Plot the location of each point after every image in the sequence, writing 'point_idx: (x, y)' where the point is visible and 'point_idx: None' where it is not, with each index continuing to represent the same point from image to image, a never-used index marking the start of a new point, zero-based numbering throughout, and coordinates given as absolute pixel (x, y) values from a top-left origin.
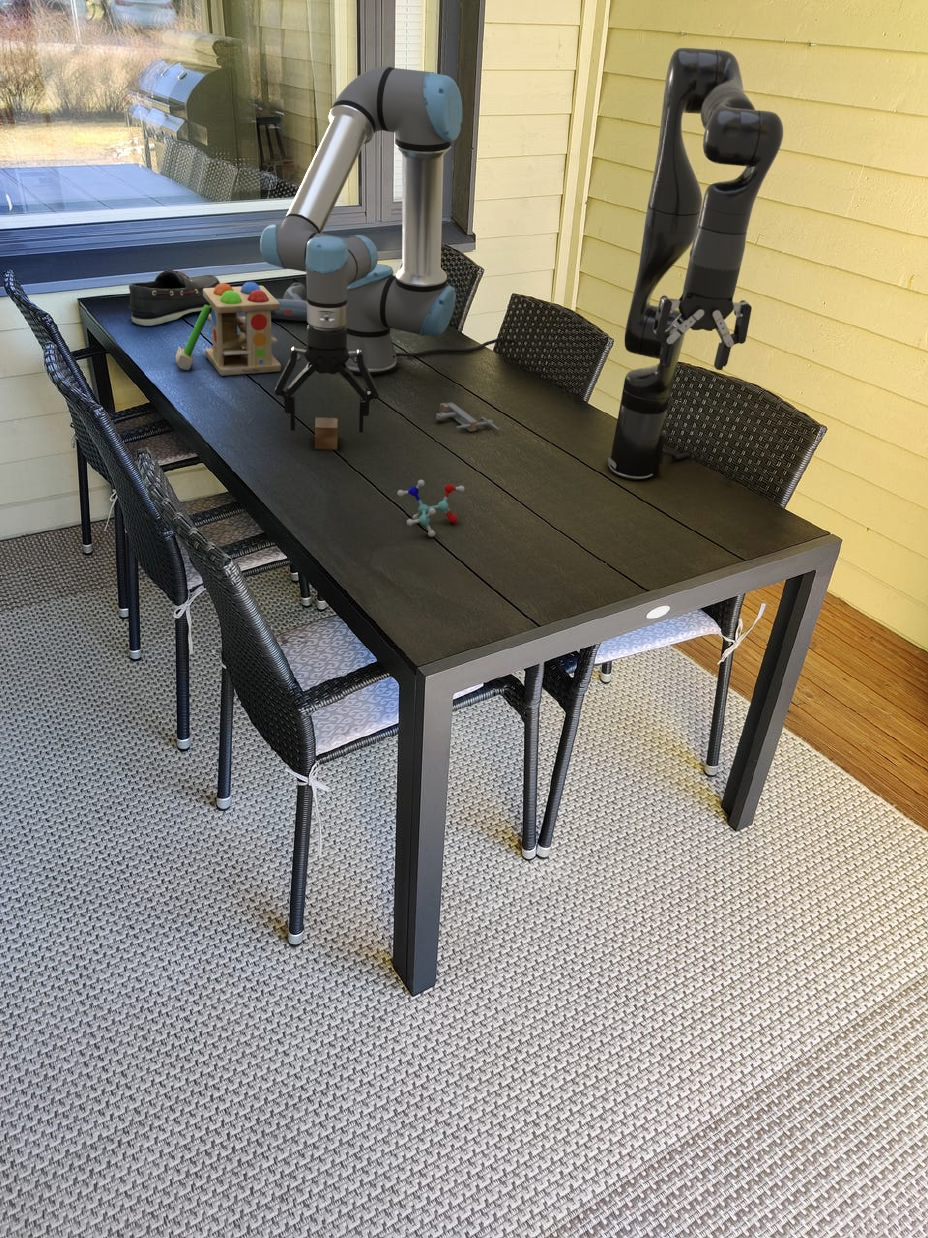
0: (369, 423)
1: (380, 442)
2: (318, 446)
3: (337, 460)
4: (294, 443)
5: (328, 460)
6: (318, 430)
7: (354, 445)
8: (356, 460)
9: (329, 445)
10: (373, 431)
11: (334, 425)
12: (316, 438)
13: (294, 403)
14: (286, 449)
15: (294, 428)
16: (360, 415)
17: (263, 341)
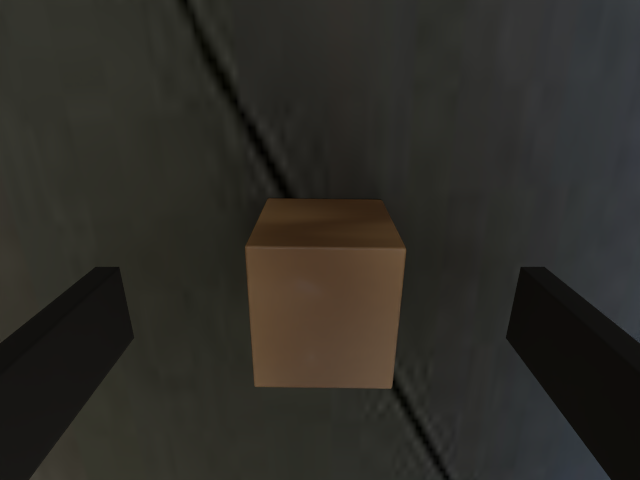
0: (151, 453)
1: None
2: (365, 202)
3: (256, 58)
4: (480, 254)
5: (308, 53)
6: (377, 238)
7: (185, 254)
8: (147, 67)
9: (306, 204)
10: (121, 392)
11: (267, 283)
12: (382, 218)
13: (616, 441)
14: (531, 182)
15: (528, 272)
16: (33, 336)
17: None
